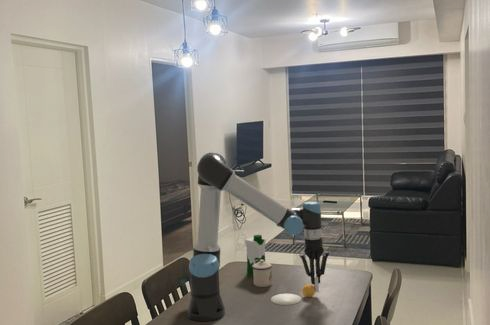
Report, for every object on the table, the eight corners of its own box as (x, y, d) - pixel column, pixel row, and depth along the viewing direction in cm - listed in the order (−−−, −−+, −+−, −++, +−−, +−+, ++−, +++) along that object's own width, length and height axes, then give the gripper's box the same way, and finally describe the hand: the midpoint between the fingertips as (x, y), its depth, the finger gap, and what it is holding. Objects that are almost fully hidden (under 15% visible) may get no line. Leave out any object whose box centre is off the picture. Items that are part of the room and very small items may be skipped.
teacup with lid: (273, 286, 234) (272, 262, 233) (254, 287, 233) (253, 263, 232) (270, 278, 246) (269, 255, 245) (252, 279, 245) (250, 256, 244)
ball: (311, 301, 216) (301, 294, 215) (307, 297, 221) (298, 290, 220) (319, 291, 216) (309, 284, 215) (315, 287, 222) (305, 280, 220)
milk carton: (255, 278, 247) (254, 238, 245) (244, 274, 254) (242, 235, 252) (269, 274, 252) (267, 234, 251) (257, 270, 259) (255, 232, 258)
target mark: (274, 306, 209) (274, 306, 209) (267, 295, 222) (267, 295, 222) (304, 303, 212) (304, 302, 212) (296, 292, 224) (296, 292, 224)
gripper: (301, 241, 212) (304, 295, 214) (330, 238, 214) (333, 291, 216) (296, 237, 219) (299, 289, 221) (324, 234, 221) (327, 286, 224)
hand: (316, 290), depth 219 cm, fingers closed
